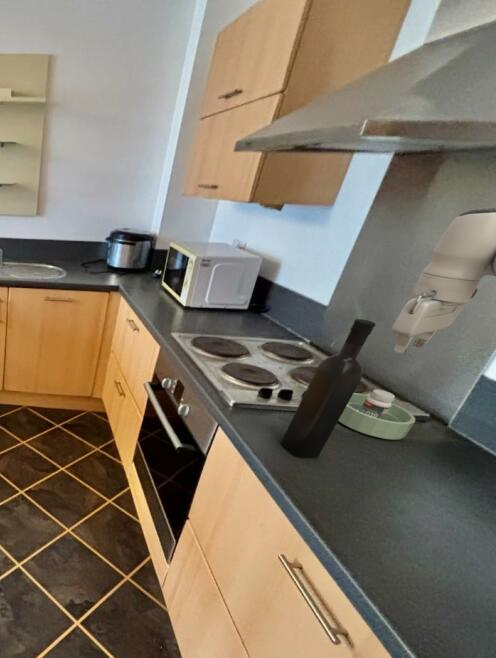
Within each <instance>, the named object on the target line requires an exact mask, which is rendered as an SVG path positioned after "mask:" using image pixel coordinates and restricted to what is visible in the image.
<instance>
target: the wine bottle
mask: <svg viewBox="0 0 496 658" xmlns="http://www.w3.org/2000/svg"><path fill="white" fill-rule="evenodd" d="M374 327H376V322H374V321H371V320H368V319H362V318H357V319H355V320H354V321H353V324H352V325H351V327H350V332H349V333H348V335H347V337H346V339H345V342H344V343H343V346H342V347H341V348H340V350H339V353H337V354H333V355H330V356H328V357H326V358H325V359H323V360H322V361H321V362H320V363H319V364H318V366H317V368H316V370H315V372H314V373H313V375H312V378H311V380H310V382H309V384H308V386H307V388H306V390H305V392H304V394H303V396H302V397H301V400H300V403H299V404H298V407H297V408H296V411H295V412H294V415H293V416H292V419H291V420H290V423H289V425H288V427H287V428H286V431H285V433H284V435H283V437H282V439H281V441H280V444H281V445H282V447H284V448H285V449H286V450H287V451H289V453H291V454H292V455H293V456H294V457H296V458H319V457H320V455H321V453H322V451H323V450H324V448H325V446H326V444H327V442H328V440H329V439H330V437H331V435H332V433H333V431H334V429H335V427H336V425H337V424H338V422H339V421H338V420H339V418H340V417H341V415H342V413H343V411H344V409H345V408H346V406H347V404H348V402H349V400H350V399H351V397H352V395H353V393H355V391H356V389H357V388H358V386H359V384H360V382H361V380H362V378H363V372H364V369H363V366H362V364H361V363H360V361H359V360H358V356H359V355H360V352H361V351H362V348H363V347H364V345H365V343H366V341H367V340H368V337H369V336H370V335H372V332H373V330H374Z"/></svg>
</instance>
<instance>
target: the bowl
mask: <svg viewBox="0 0 496 658" xmlns="http://www.w3.org/2000/svg"><path fill="white" fill-rule="evenodd" d="M369 396H370V395H369V394H364V393H358V392H354V393H353V395H352V397H351V399H350V400H349V402H348V404H347V406H346V408H345V409H344V411H343V413H342V415H341V417H340V418H339V420H338V422H339V423H340V424H343V425H344V426H346V427H347V428H349V429H351V430H354V431H356V432H359V433H361V434H363V435H368V436H371V437H375V438H379V439H385V440H392V441H393V440H402V439H404V438H405V437H407V435H408V434H409V432H410V430H411V429H412V427H413V426H414V425H415V422H416V417H415V415H413V413H412V412H410V411H409V410H407V409H406V408H404V407H401V406H399V405H398V404H396V403H393V402H391V407H390V409H389V410H388V412H387V414H386V415H385V417H384V418H383V419H379V418H376V417H373V416H370V415H367V414H364V413H362V412H360V411H357V410H360V408H361V407H362V405H363V403H364V402H365V400H366V398H367V397H369Z"/></svg>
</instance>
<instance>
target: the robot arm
mask: <svg viewBox="0 0 496 658" xmlns="http://www.w3.org/2000/svg"><path fill="white" fill-rule="evenodd" d="M486 276H493V277H496V207H494V208H493V207H492V208H490V207H489V208H478V209H471V210H468V211H465V212H463V213H461V214H458V215H457V216H456V217H455V218H454V219H453V220H452V221H451V222H450V224H448V226H447V228H446V229H445V231H444V232H443V234H442V235H441V237H440V238H439V240H438V242H437V244H436V245H435V248H434V249H433V252H432V257H431V259H430V262H429V263H428V264H427V265H426V266H425V267H424V269H423V270H422V272H421V273H420V275H419V277H418V279H417V281H416V282H415V285H414V286H413V289H412V291H411V294H412V295H414V296H416V297H413V298H411V299H409V300H408V301H407V302H406V304H405V305H404V306H403V307H402V309H401V311H400V313H399V314H398V315H397V318H396V319H395V321H394V322H393V324H392V326H391V333H393V334H395V335H397V337H396V344H395V345H394V347H393V350H392V351H393V352H395V353H399V354H403V353H405V352H407V351H408V349H409V347H410V342H411V340H413V339H414V337H415V336H417V337H416V338H415V339H414V341H413V343H412V346H414V347H416V348H418V349H419V348H420V349H421V348H425V347H426V346H427V344H428V342H429V341H430V340H431V338H433V336H434V335H435V334H436V333H437V332H438V330H442V329H447V328H448V327H450V326H451V324H453V322H454V321H455V320H456V319H457V317H458V316H459V315H460V313H461V312H462V311H463V309H464V307H466V305H467V304H468V302H469V301H470V300H471V299H474V298H475V297H476V295H477V294H478V291H479V288H478V285H479V284H480V282H481V280H482V279H483V278H484V277H486Z"/></svg>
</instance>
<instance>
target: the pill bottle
mask: <svg viewBox="0 0 496 658" xmlns="http://www.w3.org/2000/svg"><path fill="white" fill-rule="evenodd" d="M395 397H396V396H395V395H394V393H391V392H389V391H386V390H383V389H373V390H372V392H371V394H370V395H369V397H367V398H366V400H365V402H364V403H363V405H362V407H361V408H360V410H359V411H360V412H362V413H364V414H367V415H370V416H373V417H376V418H379V419H383V418H384V417H385V415H386V414H387V412H388V410H389V409H390V407H391V403H393V401H394V399H395Z"/></svg>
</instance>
